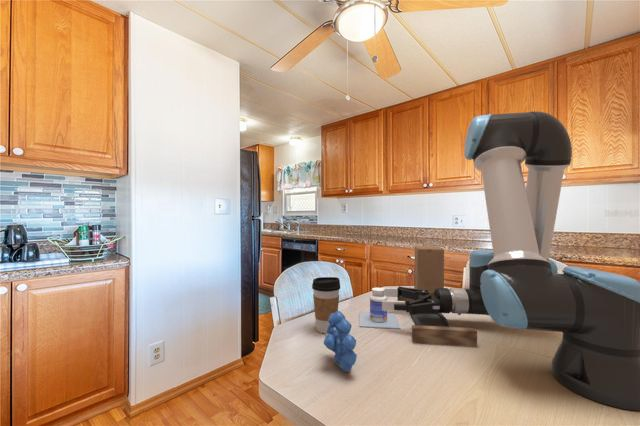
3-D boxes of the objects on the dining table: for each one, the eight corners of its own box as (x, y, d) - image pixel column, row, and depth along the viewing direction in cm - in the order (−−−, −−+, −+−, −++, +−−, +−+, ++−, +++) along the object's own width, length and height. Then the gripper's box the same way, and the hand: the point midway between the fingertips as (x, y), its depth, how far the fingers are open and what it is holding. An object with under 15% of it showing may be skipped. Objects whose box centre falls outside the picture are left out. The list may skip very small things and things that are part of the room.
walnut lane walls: (443, 308, 103) (443, 297, 103) (477, 346, 74) (477, 331, 74) (397, 306, 105) (397, 295, 105) (413, 343, 76) (413, 328, 76)
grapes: (313, 357, 69) (313, 307, 69) (339, 351, 71) (339, 303, 71) (334, 384, 58) (334, 325, 58) (363, 377, 61) (363, 320, 61)
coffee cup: (336, 337, 80) (336, 283, 79) (307, 332, 82) (307, 280, 82) (343, 325, 88) (343, 276, 87) (317, 321, 90) (317, 274, 90)
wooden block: (443, 300, 112) (444, 249, 112) (417, 298, 114) (417, 248, 114) (438, 292, 122) (439, 245, 122) (414, 291, 124) (414, 245, 124)
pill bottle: (387, 323, 89) (388, 291, 88) (369, 322, 89) (370, 291, 89) (386, 316, 94) (386, 287, 94) (369, 315, 95) (369, 286, 95)
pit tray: (439, 314, 97) (439, 310, 97) (456, 335, 81) (456, 330, 81) (409, 313, 98) (409, 309, 98) (419, 333, 82) (419, 329, 82)
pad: (394, 314, 97) (394, 313, 97) (400, 329, 85) (400, 328, 85) (359, 312, 98) (359, 311, 98) (359, 327, 86) (359, 326, 86)
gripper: (465, 329, 77) (384, 325, 79) (437, 299, 101) (376, 297, 104) (465, 301, 76) (384, 298, 79) (437, 278, 101) (376, 277, 104)
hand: (379, 298), depth 91 cm, fingers open, 13 cm apart
